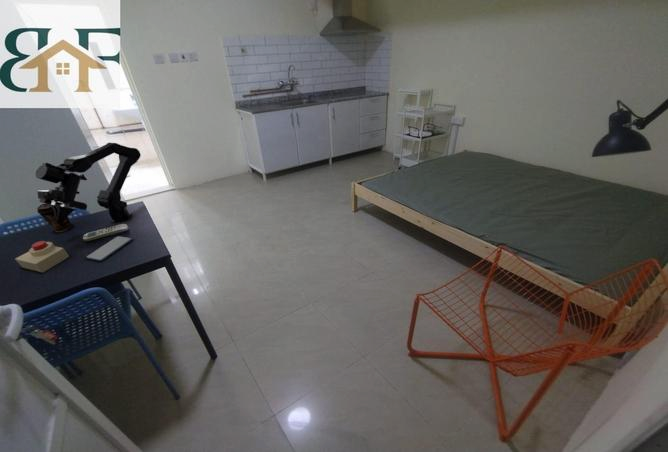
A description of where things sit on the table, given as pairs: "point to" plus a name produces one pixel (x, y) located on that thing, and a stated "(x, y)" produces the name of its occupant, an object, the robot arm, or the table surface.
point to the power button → (39, 245)
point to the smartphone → (109, 248)
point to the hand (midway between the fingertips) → (57, 223)
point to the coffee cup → (53, 218)
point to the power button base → (42, 258)
